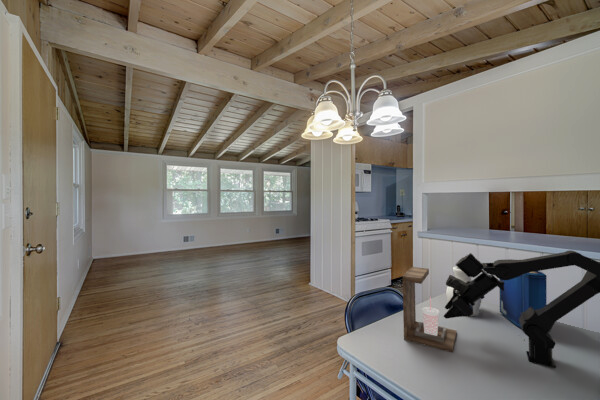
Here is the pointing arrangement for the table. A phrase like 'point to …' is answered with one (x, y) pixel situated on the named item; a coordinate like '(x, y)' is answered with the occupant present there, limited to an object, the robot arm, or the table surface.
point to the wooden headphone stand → (411, 327)
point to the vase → (465, 278)
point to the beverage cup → (430, 320)
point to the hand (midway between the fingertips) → (445, 312)
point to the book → (522, 295)
